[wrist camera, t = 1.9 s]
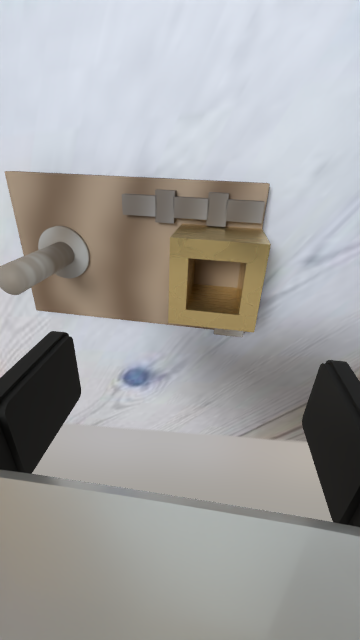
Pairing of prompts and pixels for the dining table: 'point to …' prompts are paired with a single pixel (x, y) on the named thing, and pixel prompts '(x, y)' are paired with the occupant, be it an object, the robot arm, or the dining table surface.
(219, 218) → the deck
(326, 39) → the dining table surface
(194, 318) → the end link
